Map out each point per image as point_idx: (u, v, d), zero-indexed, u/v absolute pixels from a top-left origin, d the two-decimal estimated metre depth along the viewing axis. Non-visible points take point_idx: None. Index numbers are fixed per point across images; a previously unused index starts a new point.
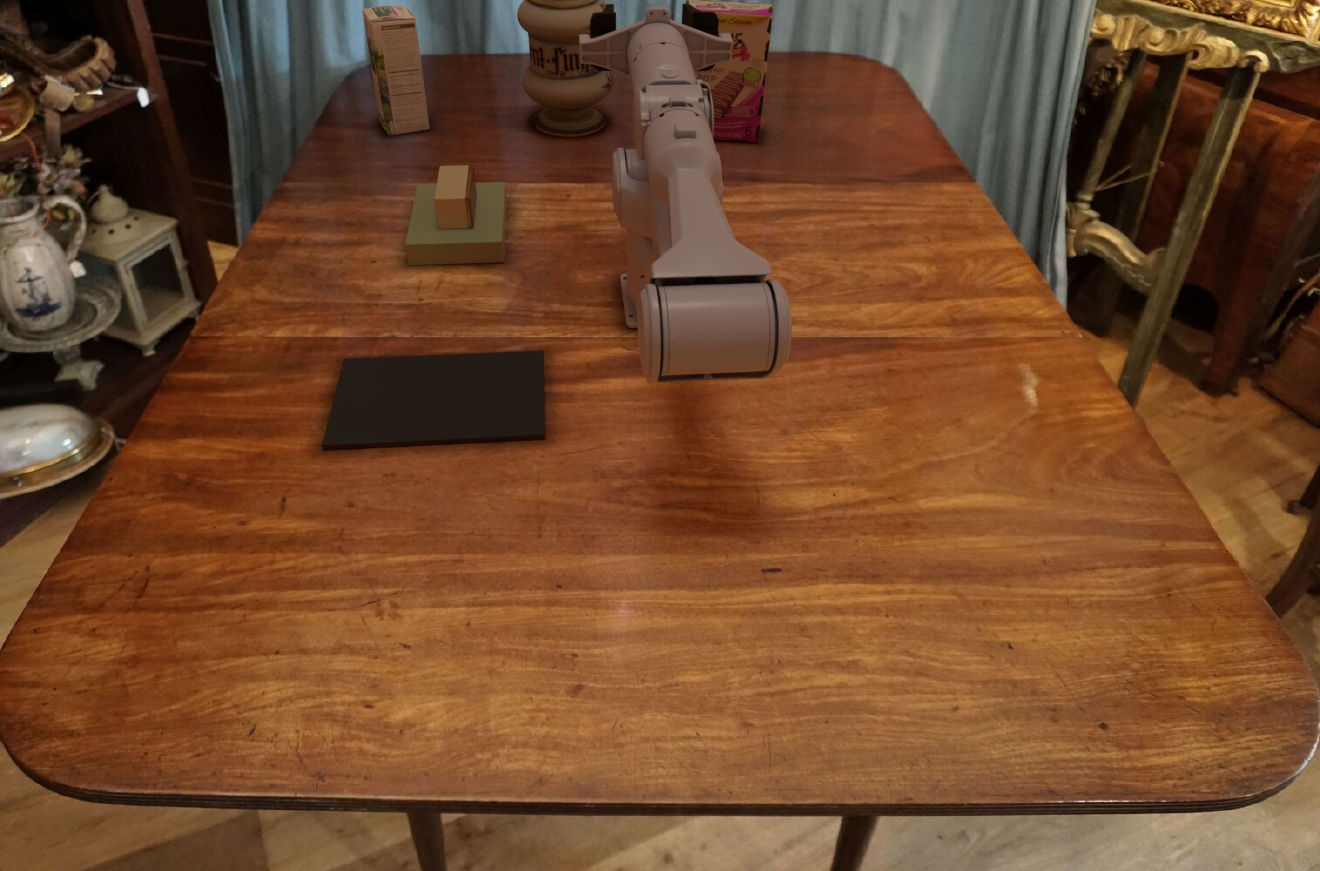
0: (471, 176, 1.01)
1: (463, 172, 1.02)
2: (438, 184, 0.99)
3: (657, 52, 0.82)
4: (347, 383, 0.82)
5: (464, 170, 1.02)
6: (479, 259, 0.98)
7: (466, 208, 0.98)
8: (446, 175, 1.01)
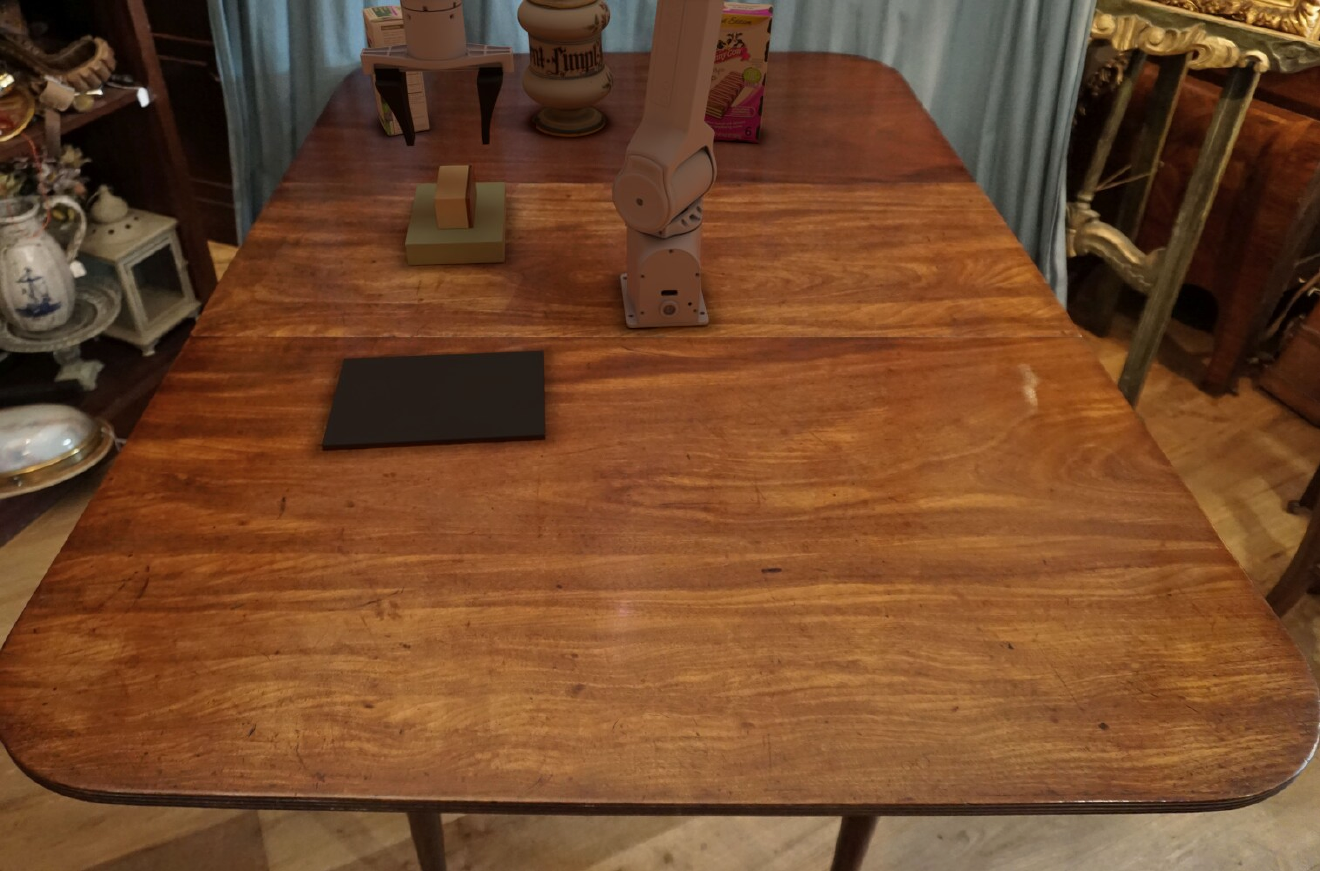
0: (471, 176, 1.01)
1: (463, 172, 1.02)
2: (438, 184, 0.99)
3: None
4: (347, 383, 0.82)
5: (464, 170, 1.02)
6: (479, 259, 0.98)
7: (466, 208, 0.98)
8: (446, 175, 1.01)
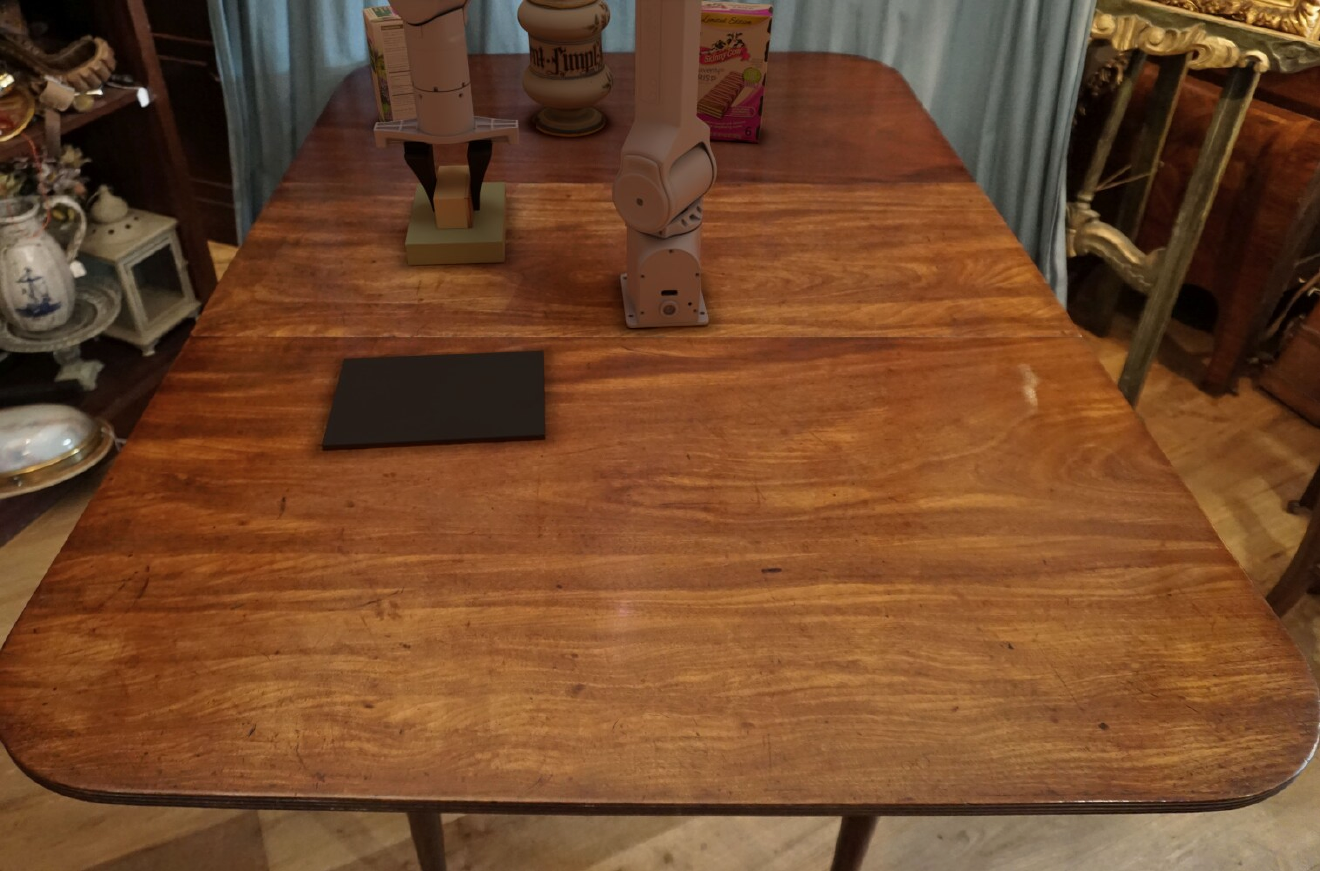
0: None
1: (462, 172, 1.02)
2: (437, 184, 0.99)
3: None
4: (347, 383, 0.82)
5: (463, 170, 1.02)
6: (479, 259, 0.98)
7: (465, 208, 0.98)
8: (445, 175, 1.01)
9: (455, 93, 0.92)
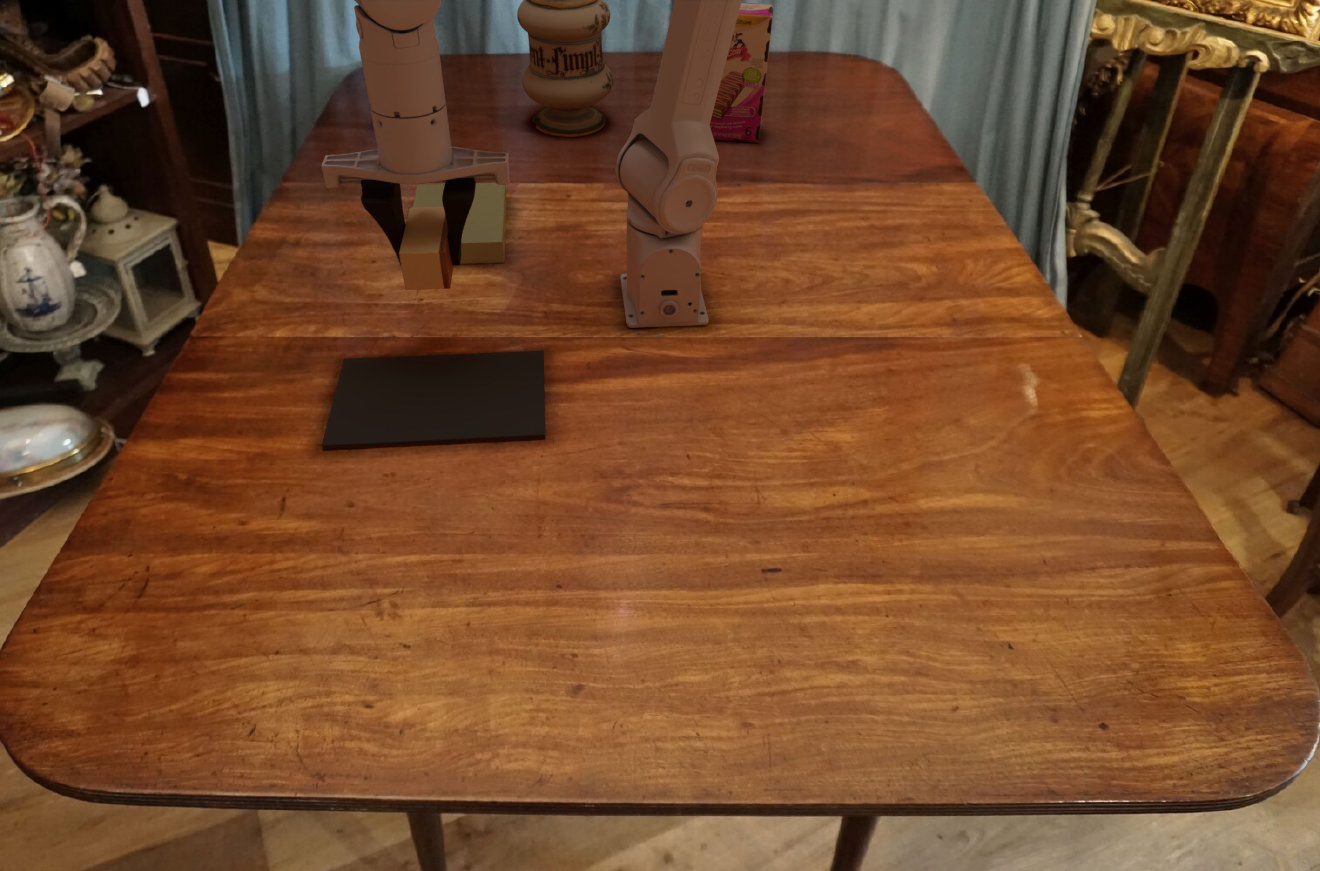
0: None
1: (438, 216, 0.80)
2: (405, 232, 0.78)
3: (369, 86, 0.69)
4: (347, 383, 0.82)
5: (439, 213, 0.81)
6: (479, 259, 0.98)
7: (440, 264, 0.76)
8: (417, 220, 0.80)
9: (425, 119, 0.70)
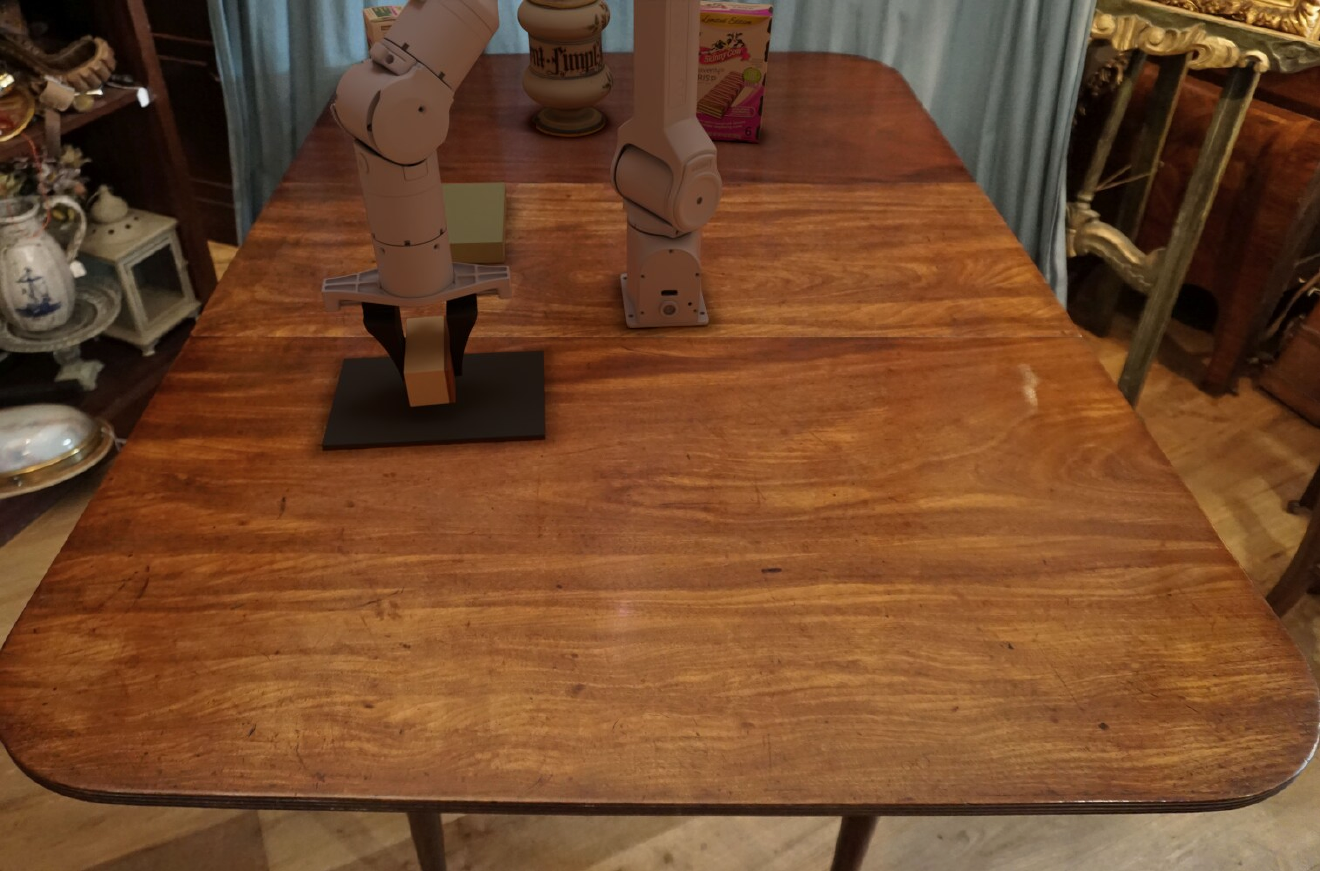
0: (448, 333, 0.79)
1: (437, 328, 0.80)
2: (407, 348, 0.77)
3: (375, 218, 0.68)
4: (347, 383, 0.82)
5: (438, 323, 0.80)
6: (479, 259, 0.98)
7: (446, 381, 0.76)
8: (416, 333, 0.79)
9: (429, 245, 0.70)
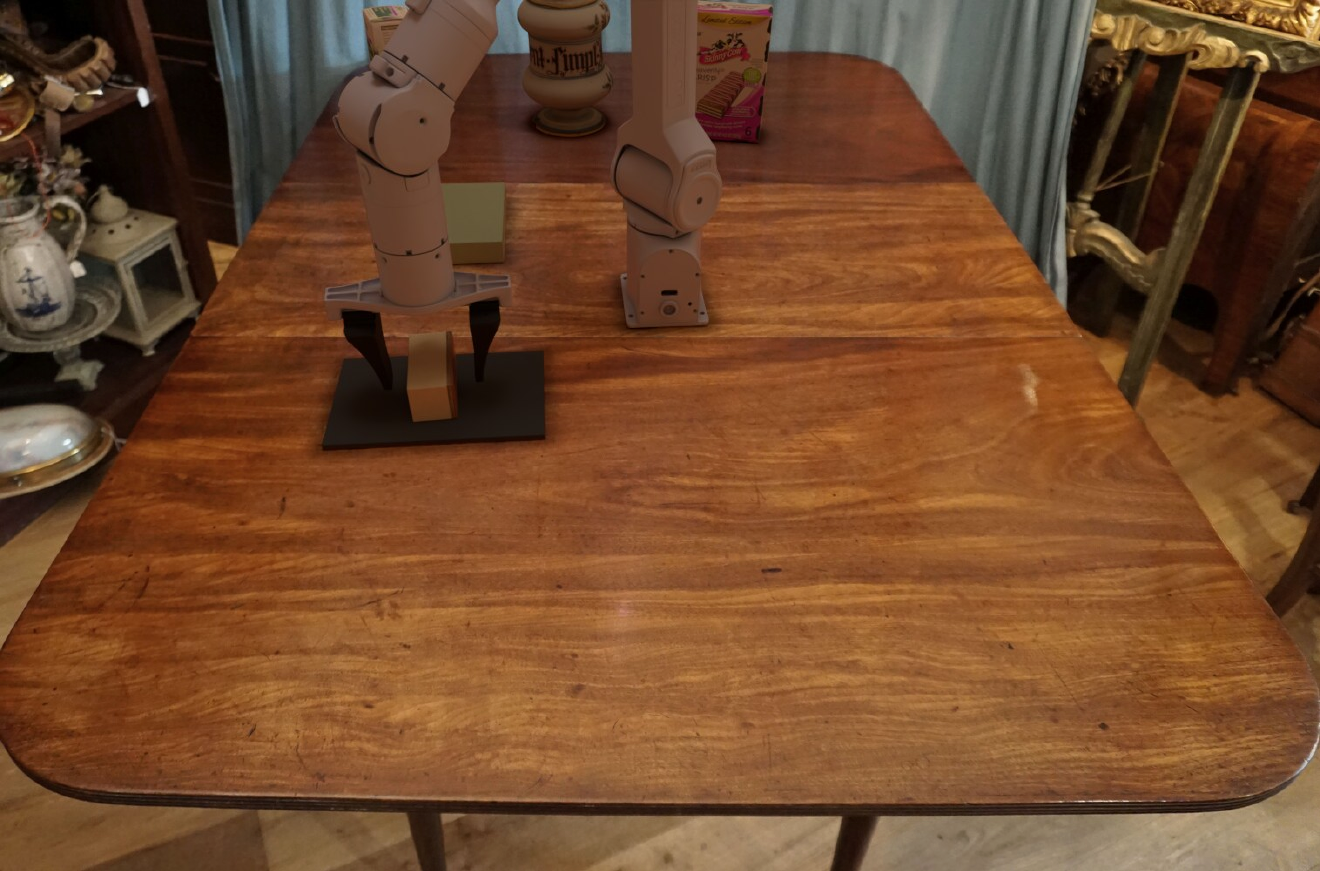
0: (451, 349, 0.80)
1: (440, 344, 0.81)
2: (410, 364, 0.78)
3: (376, 228, 0.68)
4: (347, 383, 0.82)
5: (440, 339, 0.81)
6: (479, 259, 0.98)
7: (448, 397, 0.77)
8: (419, 349, 0.80)
9: (431, 255, 0.70)
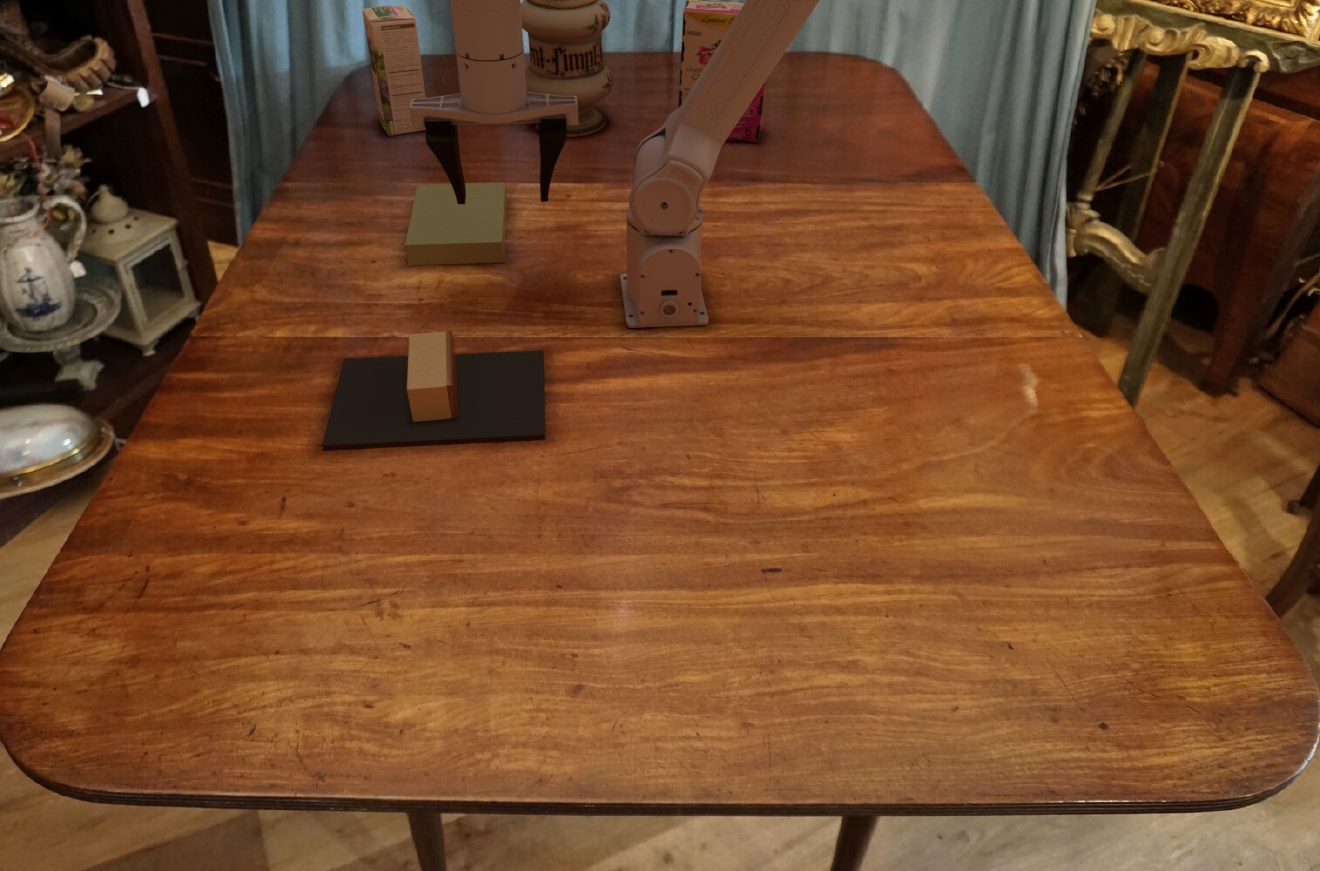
0: (451, 349, 0.80)
1: (440, 344, 0.81)
2: (410, 364, 0.78)
3: (453, 26, 0.77)
4: (347, 383, 0.82)
5: (440, 339, 0.81)
6: (479, 259, 0.98)
7: (448, 397, 0.77)
8: (419, 349, 0.80)
9: (508, 63, 0.78)
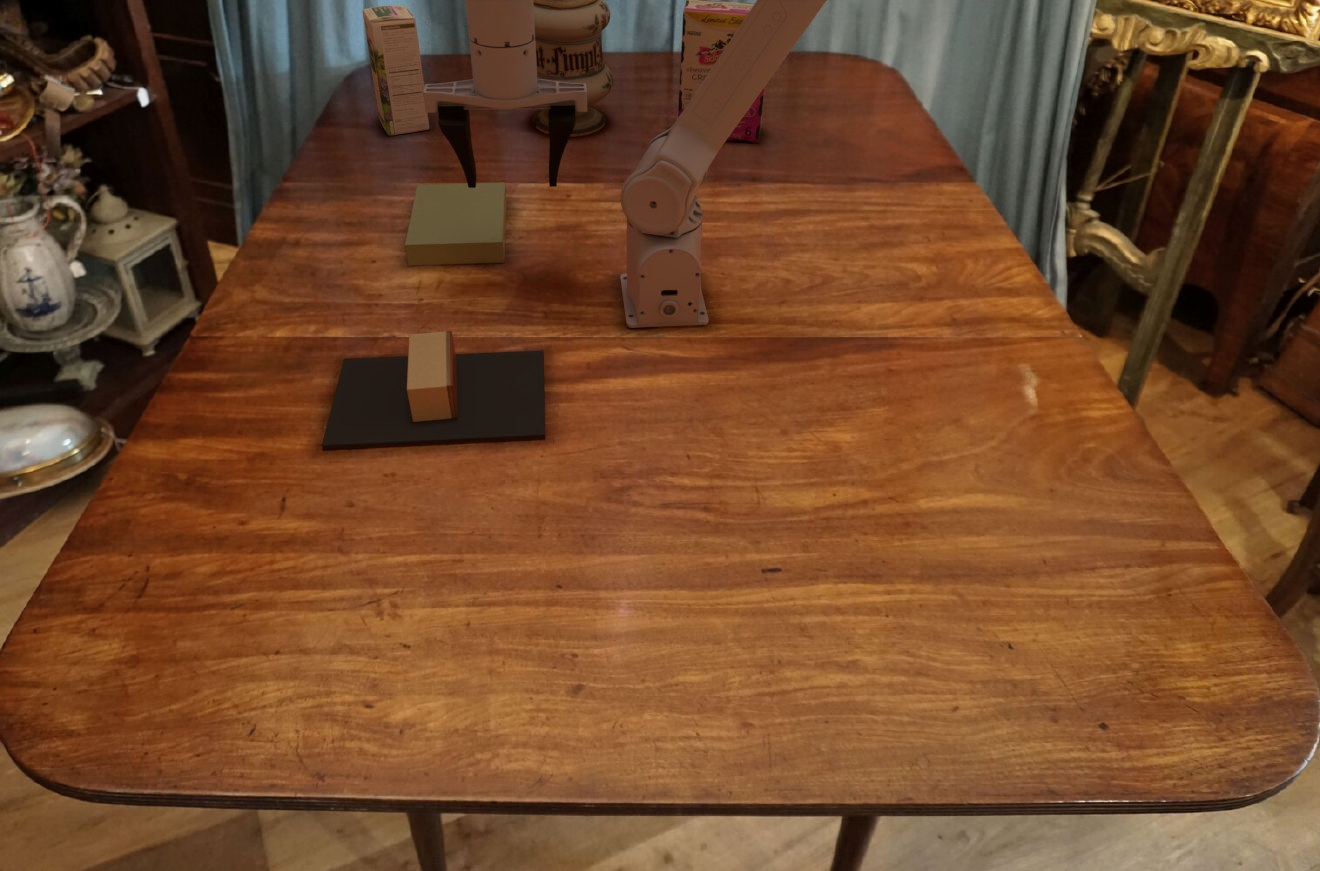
0: (451, 349, 0.80)
1: (440, 344, 0.81)
2: (410, 364, 0.78)
3: None
4: (347, 383, 0.82)
5: (440, 339, 0.81)
6: (479, 259, 0.98)
7: (448, 397, 0.77)
8: (419, 349, 0.80)
9: (519, 49, 0.80)
